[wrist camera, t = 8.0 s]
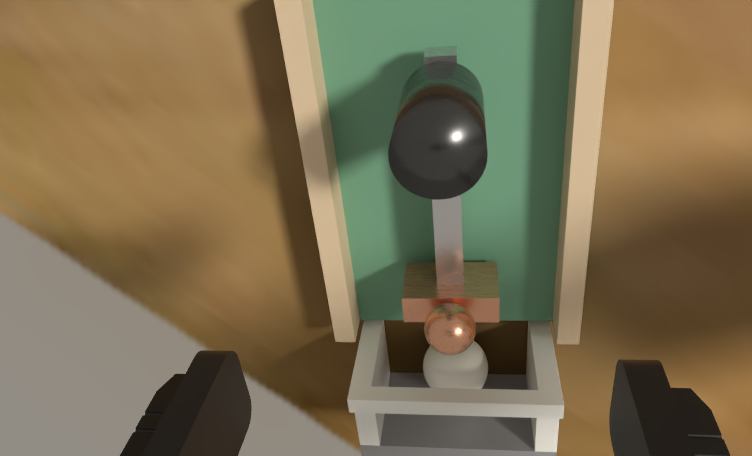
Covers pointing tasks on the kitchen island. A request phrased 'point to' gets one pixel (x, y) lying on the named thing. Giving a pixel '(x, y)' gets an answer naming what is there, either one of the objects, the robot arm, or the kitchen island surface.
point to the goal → (456, 405)
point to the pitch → (503, 133)
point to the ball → (456, 368)
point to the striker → (444, 197)
